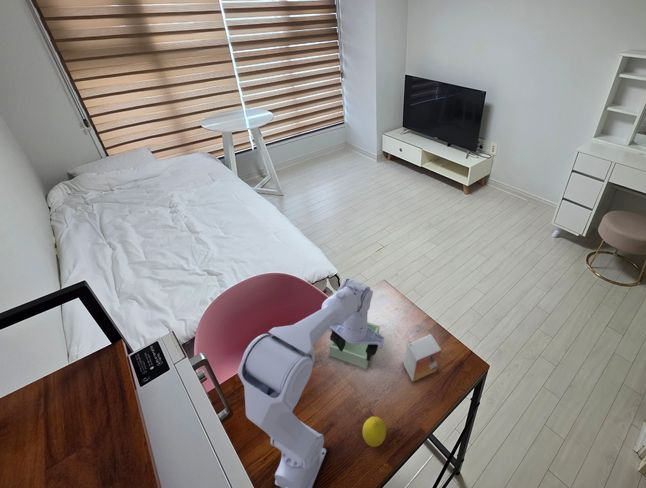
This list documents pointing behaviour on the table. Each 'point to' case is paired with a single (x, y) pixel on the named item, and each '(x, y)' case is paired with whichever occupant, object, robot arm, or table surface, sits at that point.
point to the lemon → (374, 431)
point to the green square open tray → (353, 351)
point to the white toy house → (422, 357)
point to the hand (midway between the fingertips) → (355, 352)
